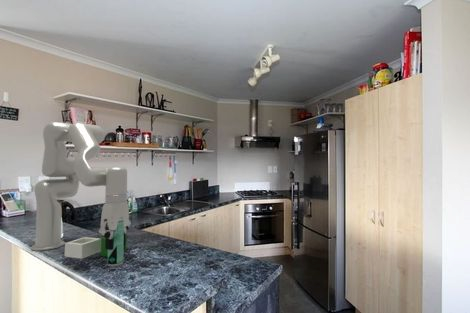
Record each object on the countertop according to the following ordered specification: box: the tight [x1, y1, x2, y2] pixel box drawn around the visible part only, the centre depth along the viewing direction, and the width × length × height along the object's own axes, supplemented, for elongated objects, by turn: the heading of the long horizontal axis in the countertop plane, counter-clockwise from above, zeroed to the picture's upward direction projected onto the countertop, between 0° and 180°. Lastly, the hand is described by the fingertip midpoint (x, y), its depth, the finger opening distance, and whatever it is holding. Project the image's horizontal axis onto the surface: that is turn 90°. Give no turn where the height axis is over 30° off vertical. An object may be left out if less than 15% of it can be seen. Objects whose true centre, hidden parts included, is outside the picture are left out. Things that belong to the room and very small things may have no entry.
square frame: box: [64, 236, 101, 259], centre depth 105 cm, size 9×9×6 cm
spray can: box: [107, 217, 125, 267], centre depth 94 cm, size 6×6×20 cm
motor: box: [100, 230, 128, 258], centre depth 107 cm, size 10×9×20 cm
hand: (115, 246), depth 94 cm, fingers closed on spray can, 5 cm apart
